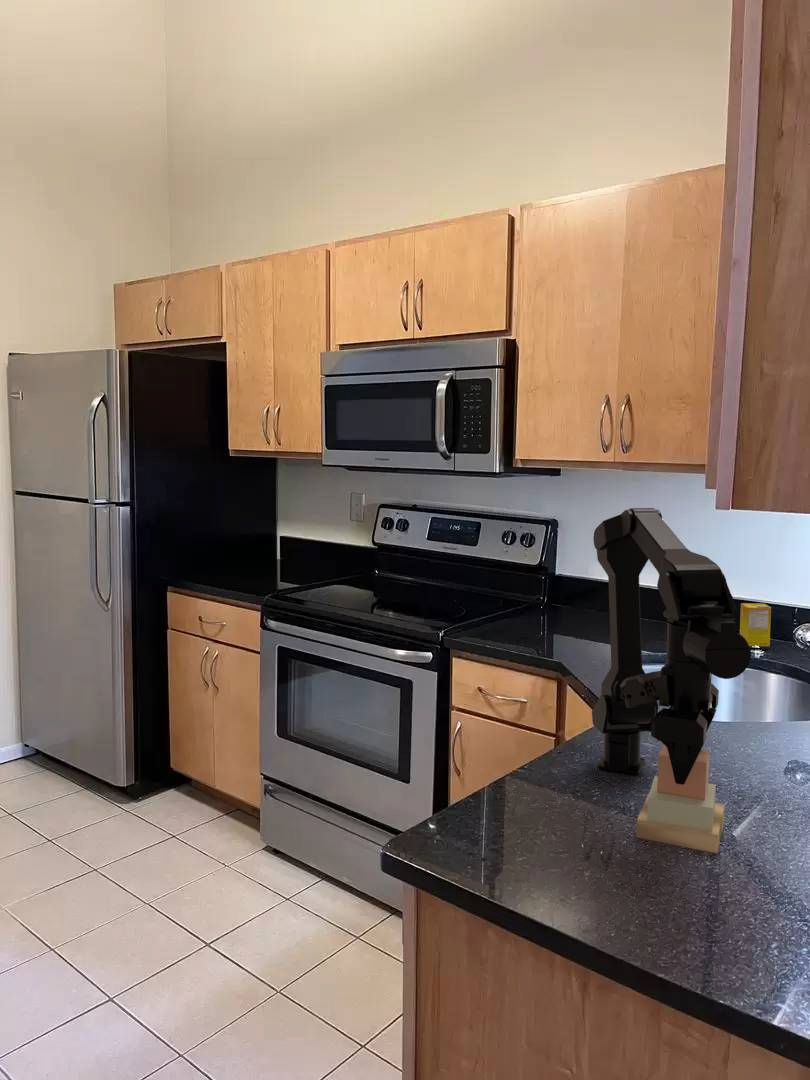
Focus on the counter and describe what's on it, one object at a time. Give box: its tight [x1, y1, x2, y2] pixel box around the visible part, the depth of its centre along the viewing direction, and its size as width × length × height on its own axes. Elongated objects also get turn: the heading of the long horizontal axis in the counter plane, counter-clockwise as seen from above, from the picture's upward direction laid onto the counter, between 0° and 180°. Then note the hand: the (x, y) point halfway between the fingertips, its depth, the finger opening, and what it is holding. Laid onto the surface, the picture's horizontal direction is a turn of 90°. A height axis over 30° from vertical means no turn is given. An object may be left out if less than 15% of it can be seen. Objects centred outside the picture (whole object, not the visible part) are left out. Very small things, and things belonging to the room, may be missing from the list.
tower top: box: [647, 775, 717, 831], centre depth 110 cm, size 8×8×3 cm
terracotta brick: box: [657, 743, 711, 800], centre depth 110 cm, size 4×6×5 cm
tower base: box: [635, 791, 726, 854], centre depth 110 cm, size 10×10×3 cm
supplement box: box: [739, 602, 772, 650], centre depth 211 cm, size 6×6×11 cm
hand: (684, 772), depth 109 cm, fingers open, 8 cm apart
